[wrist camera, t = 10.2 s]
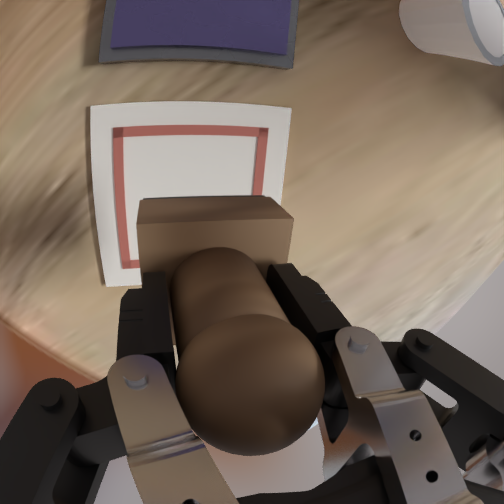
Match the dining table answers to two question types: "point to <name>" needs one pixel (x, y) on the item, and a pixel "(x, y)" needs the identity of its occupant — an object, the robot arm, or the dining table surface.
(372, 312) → the dining table surface
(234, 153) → the print card
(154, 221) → the stamp
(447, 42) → the shot glass
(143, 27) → the ink pad
